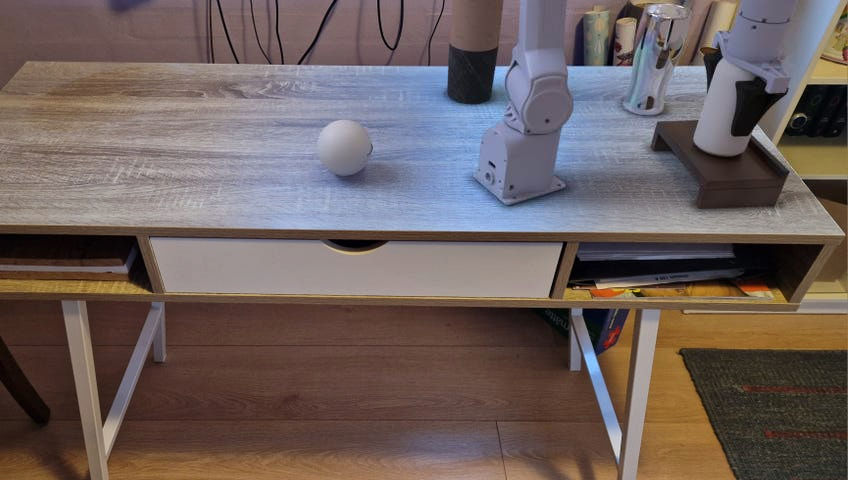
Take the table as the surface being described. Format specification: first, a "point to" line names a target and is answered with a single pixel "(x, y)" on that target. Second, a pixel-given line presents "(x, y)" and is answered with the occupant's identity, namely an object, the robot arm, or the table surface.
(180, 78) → the table surface
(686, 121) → the desk shelf
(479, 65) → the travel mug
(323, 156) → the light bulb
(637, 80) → the beer glass
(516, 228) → the table surface
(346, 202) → the table surface
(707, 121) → the can
